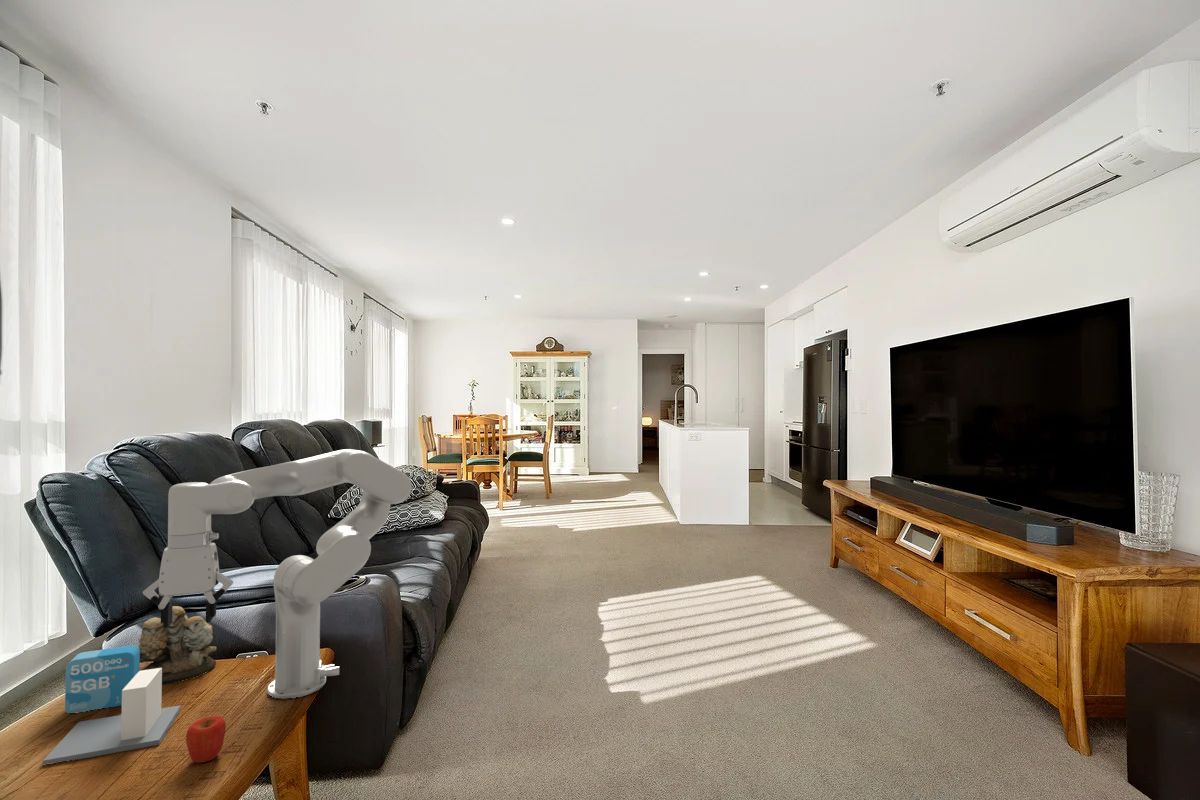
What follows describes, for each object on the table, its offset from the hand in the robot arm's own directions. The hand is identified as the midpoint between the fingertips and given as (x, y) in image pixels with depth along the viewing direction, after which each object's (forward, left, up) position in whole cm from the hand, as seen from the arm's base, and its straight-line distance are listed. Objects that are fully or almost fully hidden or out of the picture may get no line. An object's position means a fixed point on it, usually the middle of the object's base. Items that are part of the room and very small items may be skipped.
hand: (188, 622), depth 121 cm
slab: (+8, 0, -21) cm, 22 cm away
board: (+12, 0, -22) cm, 25 cm away
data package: (+20, -16, -22) cm, 34 cm away
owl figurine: (+10, -28, -22) cm, 37 cm away
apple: (-7, +16, -22) cm, 28 cm away
